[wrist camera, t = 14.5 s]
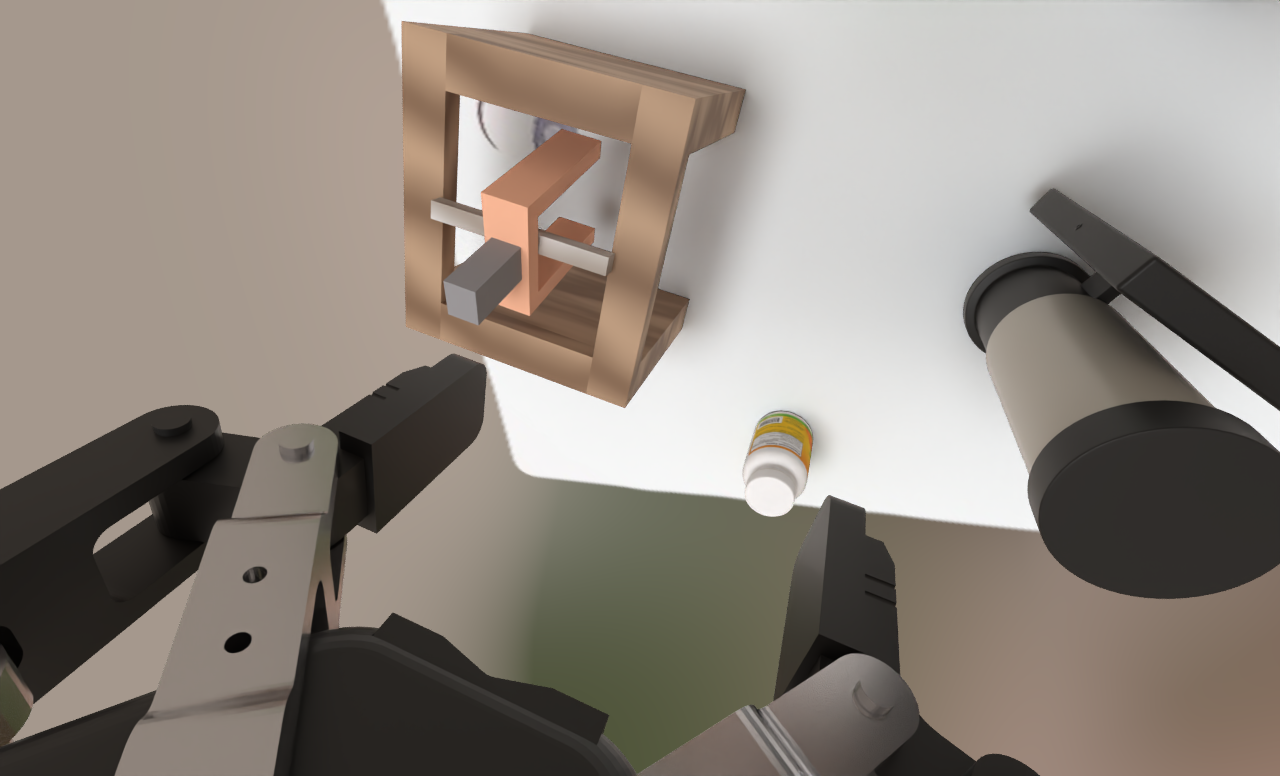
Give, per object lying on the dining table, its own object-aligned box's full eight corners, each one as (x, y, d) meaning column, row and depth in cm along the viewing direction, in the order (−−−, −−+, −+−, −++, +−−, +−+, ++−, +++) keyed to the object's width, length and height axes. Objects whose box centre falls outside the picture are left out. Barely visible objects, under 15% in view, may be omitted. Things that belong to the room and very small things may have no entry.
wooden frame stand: (527, 33, 46) (389, 19, 33) (745, 89, 43) (690, 99, 30) (507, 269, 57) (397, 331, 44) (681, 328, 54) (619, 415, 40)
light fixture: (918, 300, 46) (957, 489, 25) (1041, 179, 40) (1223, 299, 19) (1041, 391, 46) (1180, 653, 25) (1182, 284, 40) (1515, 515, 19)
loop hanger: (561, 129, 40) (428, 233, 30) (601, 141, 40) (479, 251, 30) (559, 230, 46) (446, 346, 36) (593, 241, 46) (489, 363, 36)
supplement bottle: (797, 467, 56) (786, 534, 48) (746, 443, 57) (725, 505, 49) (823, 425, 53) (815, 489, 45) (768, 400, 54) (751, 458, 46)
